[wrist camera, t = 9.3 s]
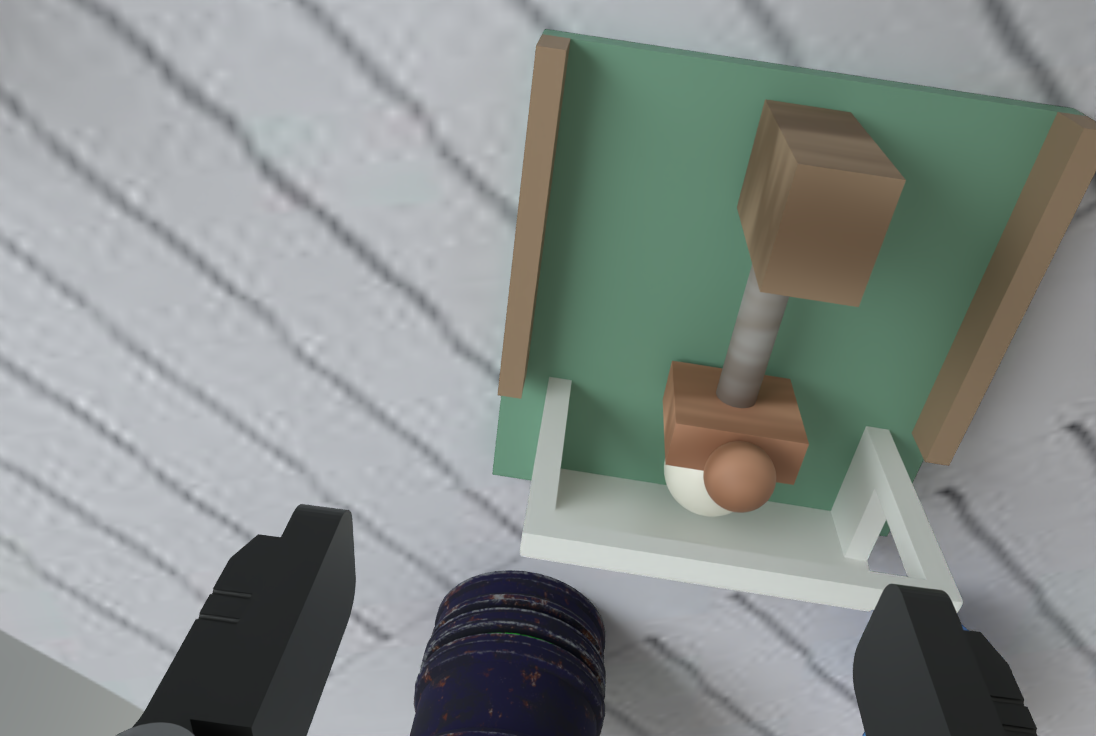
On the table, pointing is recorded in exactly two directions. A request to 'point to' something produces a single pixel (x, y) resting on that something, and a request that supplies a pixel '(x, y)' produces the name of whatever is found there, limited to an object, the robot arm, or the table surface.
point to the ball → (691, 491)
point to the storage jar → (512, 661)
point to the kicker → (781, 295)
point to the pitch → (715, 297)
